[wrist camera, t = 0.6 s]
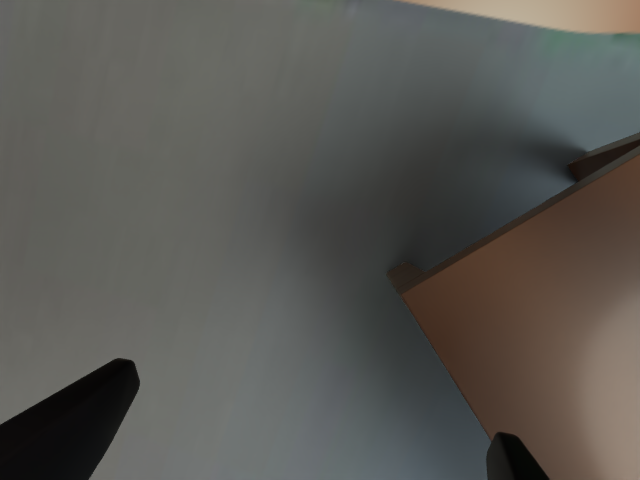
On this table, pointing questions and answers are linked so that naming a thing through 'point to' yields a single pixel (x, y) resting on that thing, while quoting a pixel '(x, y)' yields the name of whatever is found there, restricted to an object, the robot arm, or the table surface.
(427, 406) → the table surface
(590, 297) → the low table
